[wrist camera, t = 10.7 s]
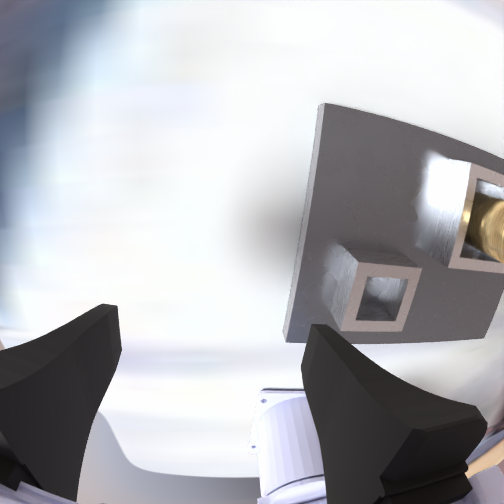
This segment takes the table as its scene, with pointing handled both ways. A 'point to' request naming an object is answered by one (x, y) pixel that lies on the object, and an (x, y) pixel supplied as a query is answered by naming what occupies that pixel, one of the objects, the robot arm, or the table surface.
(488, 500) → the robot arm
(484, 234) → the pipe stub
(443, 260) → the socket plate
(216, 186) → the table surface
